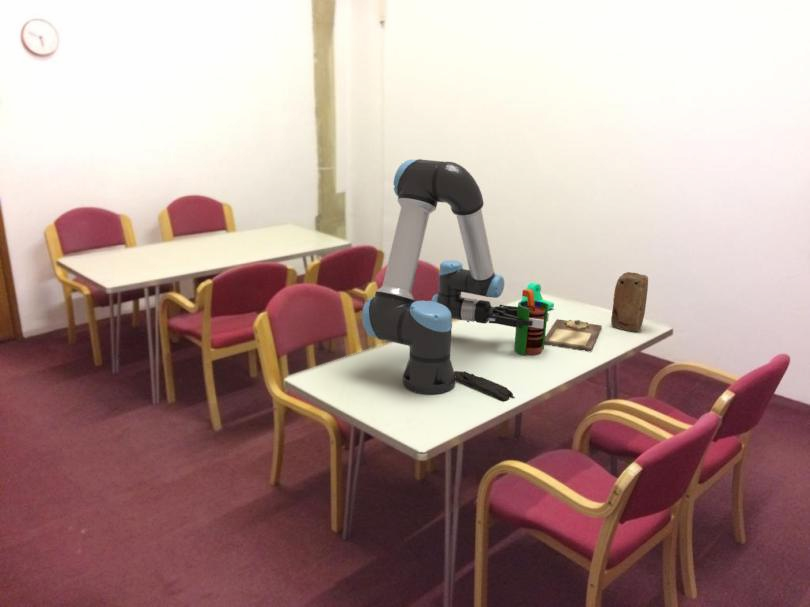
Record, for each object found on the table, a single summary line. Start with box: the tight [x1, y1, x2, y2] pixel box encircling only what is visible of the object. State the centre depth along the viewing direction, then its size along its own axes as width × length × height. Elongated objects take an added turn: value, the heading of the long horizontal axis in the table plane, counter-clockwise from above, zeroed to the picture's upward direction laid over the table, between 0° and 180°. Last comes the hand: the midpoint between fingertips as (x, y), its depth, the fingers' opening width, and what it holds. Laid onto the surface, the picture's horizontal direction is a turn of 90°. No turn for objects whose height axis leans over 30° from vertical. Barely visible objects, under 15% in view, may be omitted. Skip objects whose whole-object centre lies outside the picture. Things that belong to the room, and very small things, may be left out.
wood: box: [454, 370, 516, 402], centre depth 193 cm, size 22×7×3 cm, turn 43°
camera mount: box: [520, 282, 555, 311], centre depth 260 cm, size 12×8×10 cm, turn 128°
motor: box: [513, 288, 549, 356], centre depth 217 cm, size 10×9×20 cm
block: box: [610, 271, 649, 332], centre depth 240 cm, size 11×8×20 cm
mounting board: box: [544, 318, 603, 352], centre depth 233 cm, size 16×25×3 cm, turn 157°
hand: (545, 320), depth 215 cm, fingers closed on motor, 7 cm apart
